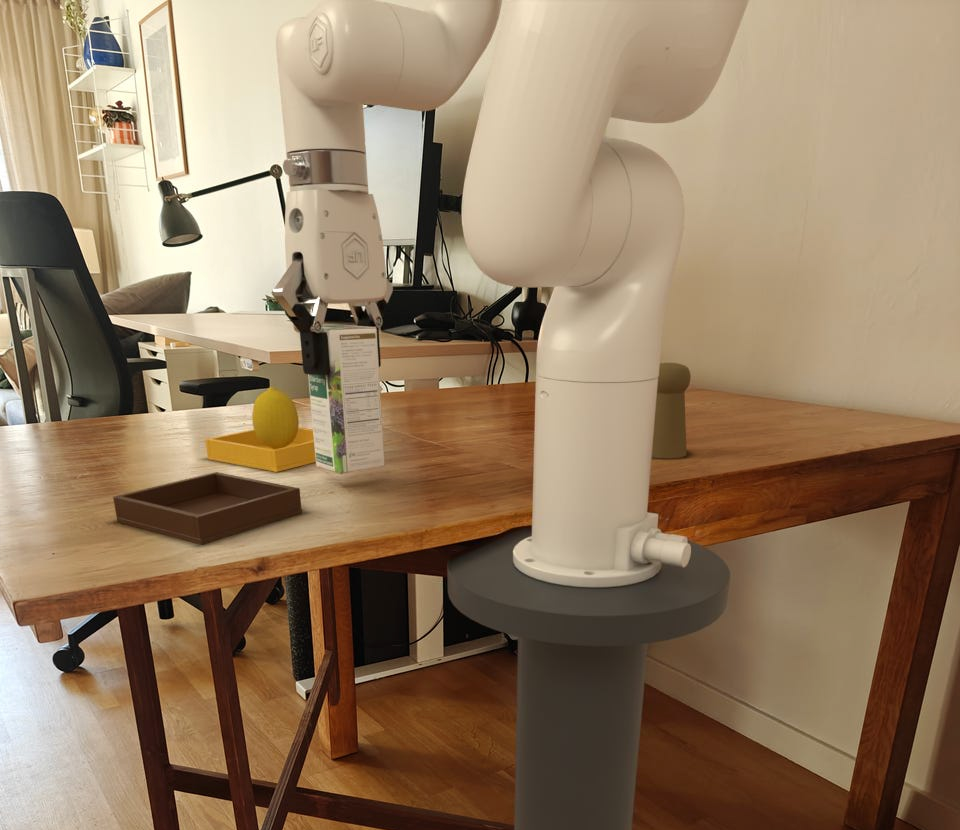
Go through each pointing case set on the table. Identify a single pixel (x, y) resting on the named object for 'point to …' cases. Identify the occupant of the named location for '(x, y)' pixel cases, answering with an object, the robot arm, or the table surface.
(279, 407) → the lemon
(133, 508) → the brown tray
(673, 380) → the cork
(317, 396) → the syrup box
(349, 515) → the table surface
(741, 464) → the table surface
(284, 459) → the yellow tray
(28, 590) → the table surface
